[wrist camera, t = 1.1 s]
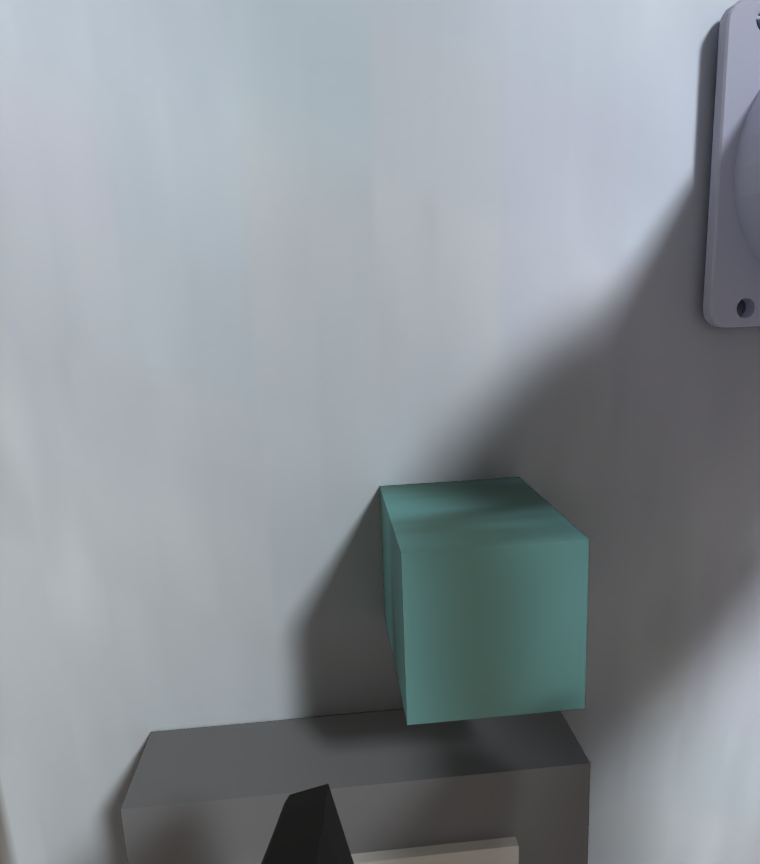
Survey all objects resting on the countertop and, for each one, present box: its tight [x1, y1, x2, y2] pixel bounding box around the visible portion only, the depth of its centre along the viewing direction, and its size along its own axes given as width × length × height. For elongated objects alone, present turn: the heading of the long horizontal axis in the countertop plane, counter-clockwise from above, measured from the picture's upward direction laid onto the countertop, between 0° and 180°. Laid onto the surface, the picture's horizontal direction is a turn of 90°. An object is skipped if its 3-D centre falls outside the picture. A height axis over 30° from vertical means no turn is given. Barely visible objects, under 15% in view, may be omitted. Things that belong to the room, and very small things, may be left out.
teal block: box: [380, 477, 589, 725], centre depth 17 cm, size 4×4×5 cm
